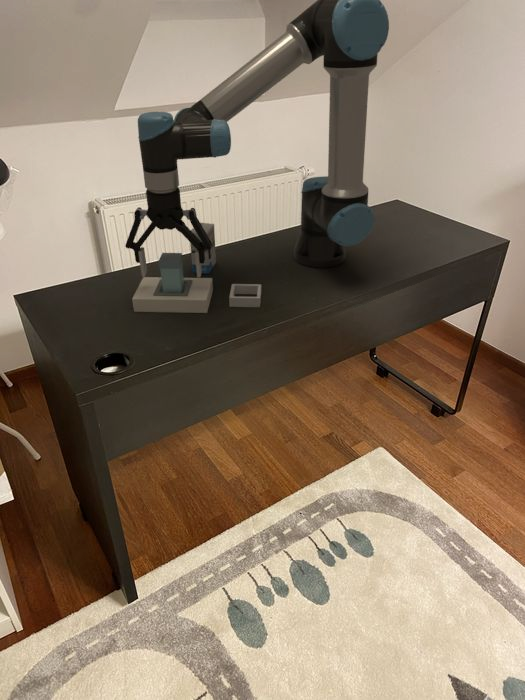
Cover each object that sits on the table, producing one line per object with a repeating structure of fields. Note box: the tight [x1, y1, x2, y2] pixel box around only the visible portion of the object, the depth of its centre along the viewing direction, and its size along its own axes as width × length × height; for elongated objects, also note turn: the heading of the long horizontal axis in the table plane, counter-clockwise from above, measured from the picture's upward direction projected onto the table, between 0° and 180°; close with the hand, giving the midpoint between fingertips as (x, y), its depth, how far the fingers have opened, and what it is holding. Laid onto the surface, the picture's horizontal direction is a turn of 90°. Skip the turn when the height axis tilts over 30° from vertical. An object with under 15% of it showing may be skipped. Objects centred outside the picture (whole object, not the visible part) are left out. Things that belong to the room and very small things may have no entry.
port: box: [131, 276, 214, 314], centre depth 132 cm, size 18×12×4 cm, turn 88°
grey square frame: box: [228, 283, 262, 308], centre depth 133 cm, size 8×8×2 cm
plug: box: [158, 252, 185, 293], centre depth 130 cm, size 5×5×12 cm
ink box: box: [189, 222, 217, 275], centre depth 146 cm, size 8×5×12 cm, turn 168°
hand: (172, 274), depth 129 cm, fingers open, 13 cm apart
